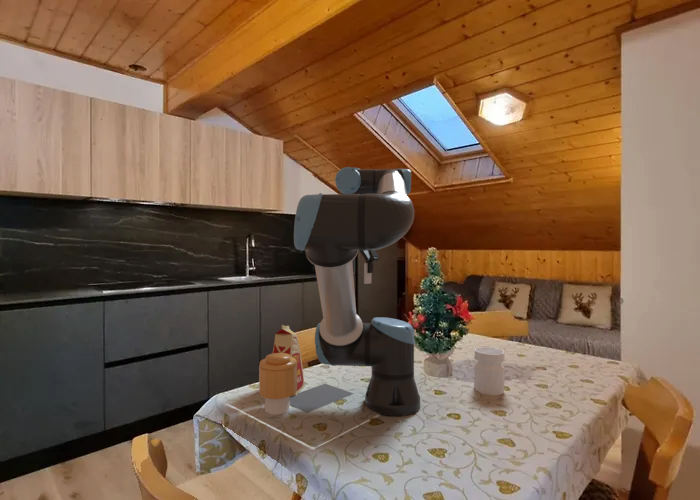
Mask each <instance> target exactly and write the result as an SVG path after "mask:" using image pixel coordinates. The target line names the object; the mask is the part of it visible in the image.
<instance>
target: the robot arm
mask: <svg viewBox="0 0 700 500" xmlns="http://www.w3.org/2000/svg"><path fill="white" fill-rule="evenodd" d="M334 181H335V182H334V183H335V186H336V188H337V190H338V191H339V193H340V194H338V193H337V194H336V193H335V194H332V193H330V194H329V193H328V194H326V193H325V194H323V193H321V192H320V193H317V194H306V195H303V196H301V198H299V201H298V203H297V207H296V210H295V216H294V217H295V218H294V226H293V227H294V228H293V244H294V248H295V249H296V250H297V251H301V252H303V251H304V253H305V256H306V258H307V260H308V261H309V262H310V264H312V265H314V269H315V275H316V276H315V277H316V281H317V282H316V283H317V286H318V293H319V298H320V299H319V300H320V306H321V312H322V319H321V320H320V322H318V324H317V325H316V328H315V330H314V331H315V333H314V345H315V355H316V356H317V360H318V362H320V363H321V364H323V365H328V366H332V367H336V366H339V367H340V366H343V367H345V366H347V367H348V366H349V367H371V376H370V380H369V383H368V386H367V389H366V392H365V395H364V396H365V397H364V405H365V406H366V408H368V409H369V410H371V411H372V412H375V413H377V414H380V415H382V416H383V415H384V416H392V417H394V416H395V417H396V416H397V417H399V416H407V415H411V414H414V413H416V412H418V411H419V410H420V409H421V395H420V393H419V389H418V386H417V382H416V379H415V344H416V340H415V330H414V327H413V326H412V324H411V323H409V322H406V321H404V320H400V319H397V318H391V317H384V316H383V317H380V316H379V317H378V316H377V317H373V318H372V319H371V322H369V323H368V322H363V321H362V319H361V317H360V316H359V315H358V314H357V306H356V305H357V303H356V294H355V278H354V266H353V265H354V264H353V261H354V259H355V258H356V257H357V255H358V253H360V254H361V256H362V257H363V258H364V261H365V262H364V263H363V264H364V265H363V267H364V269H363V271H364V272H363V277H364V278H363V284H364V285H366V284H367V285H368V284H372V274H373V273H374V263H375V262H377V261H379V260H380V258H379V255H378V252H377V250H382V249H383V248H384V249H385V248H387V247H389V246H391V245H393V244H395V243H397V242H398V241H399V240H400V239H402V238H403V237H404V236H405V235H406V234H407V233H408V232H409V230H410V229H411V227H412V225H413V224H414V220H415V208H414V204H413V201H412V199H410V197H409V196H408V195H409V194H410V193H411V190H412V171H411V170H410V169H408V168H400V167H399V168H384V169H383V168H382V169H381V168H378V169H376V168H375V169H374V168H372V169H371V168H369V169H368V168H366V169H365V168H363V169H361V168H359V167H351V166H345V167H343V168H340V169H339V170H338V171H337V173H336V175H335V177H334Z"/></svg>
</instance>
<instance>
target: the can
mask: <svg viewBox="0 0 700 500" xmlns="http://www.w3.org/2000/svg"><path fill="white" fill-rule="evenodd" d="M290 407H291V405H290V397H287V398H281V399H269V398H265V397H264V411H265V412H266V414H269V415H281V414H282V415H283V414H285V413H287V412H289V410H290V409H291V408H290Z"/></svg>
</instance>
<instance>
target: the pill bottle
mask: <svg viewBox="0 0 700 500" xmlns="http://www.w3.org/2000/svg"><path fill="white" fill-rule="evenodd" d="M473 358H474V359H475V361H476V362H475V363H474V364H473V371H474V377H473V378H474V379H473V381H474V382H473V387H474V390H475V391H476V392H477V391H478V392H477V393H480V394H482V395H488V396H500V395H503V394H504V392H505V366H504V365H502V363H503V362H505V351H504V350H502V349H500V348H497V347H489V346H479V347H475V348H474V357H473Z"/></svg>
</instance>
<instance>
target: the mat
mask: <svg viewBox="0 0 700 500" xmlns="http://www.w3.org/2000/svg"><path fill="white" fill-rule="evenodd" d="M353 394H354V393H353V392H350V391H348V390H345V389H342V388H340V387H336V386H334V385H331V384H328V383H323V384H319V385H317V386H315V387H312V388H308V389H306V390H303V391H300V392H299V393H298V394H297V395H296V396H290V407H294V408H295V409H297V410H301V411H303V412H305V413H307V414H308V413H312V411H313V412H314V411H315V410H318V409H320V408H323V407H325V406H327V405H330V404H332V403H334V402H337V401H339V400H343V399H344V398H347V397H349V396H352V395H353Z"/></svg>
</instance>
